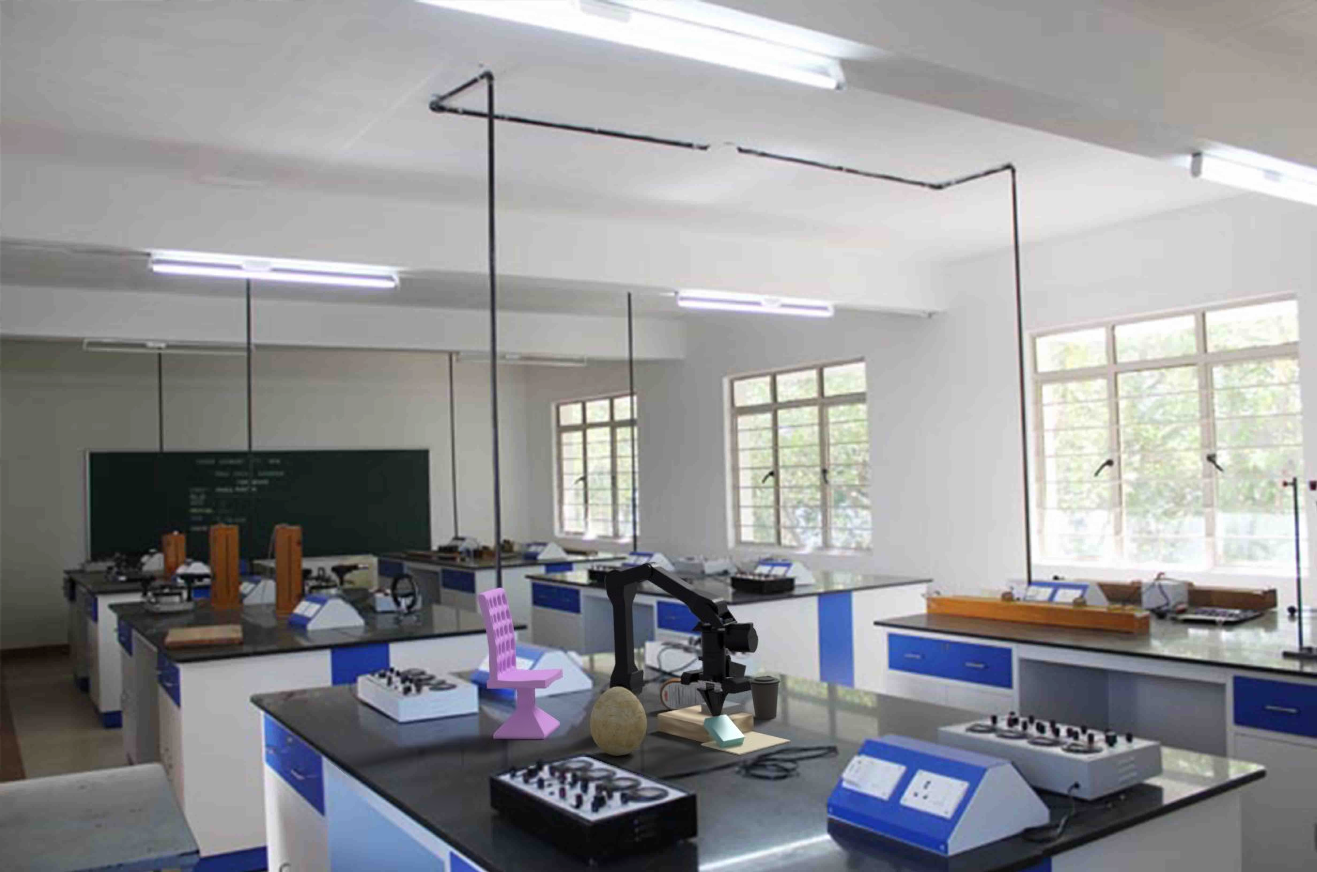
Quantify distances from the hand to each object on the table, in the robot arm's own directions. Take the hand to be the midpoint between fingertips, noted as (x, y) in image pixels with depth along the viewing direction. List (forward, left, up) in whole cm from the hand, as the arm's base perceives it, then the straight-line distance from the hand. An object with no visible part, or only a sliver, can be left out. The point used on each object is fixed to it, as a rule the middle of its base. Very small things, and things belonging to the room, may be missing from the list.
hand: (716, 718), depth 241 cm
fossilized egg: (-23, +7, -5) cm, 25 cm away
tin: (+17, +30, -5) cm, 35 cm away
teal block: (-1, -3, -3) cm, 4 cm away
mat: (+3, -6, -5) cm, 9 cm away
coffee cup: (+25, +9, -5) cm, 27 cm away
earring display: (-27, +42, -5) cm, 50 cm away
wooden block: (+4, +9, -5) cm, 11 cm away
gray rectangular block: (+9, +8, -1) cm, 12 cm away
